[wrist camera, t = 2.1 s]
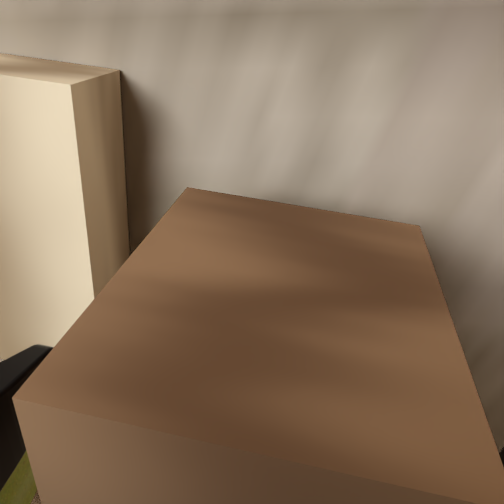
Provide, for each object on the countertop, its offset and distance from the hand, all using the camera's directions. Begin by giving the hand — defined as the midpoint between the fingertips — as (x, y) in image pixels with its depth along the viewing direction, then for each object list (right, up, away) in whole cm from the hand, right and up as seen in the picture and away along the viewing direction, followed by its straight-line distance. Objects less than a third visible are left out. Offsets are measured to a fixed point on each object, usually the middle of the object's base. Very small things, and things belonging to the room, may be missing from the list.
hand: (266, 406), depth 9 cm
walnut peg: (+1, +3, +5) cm, 6 cm away
